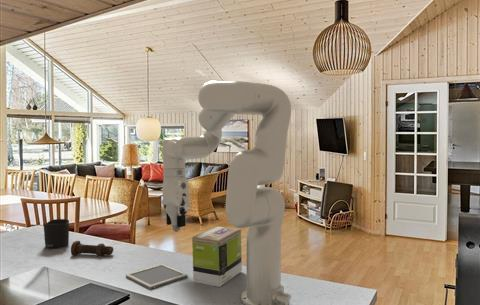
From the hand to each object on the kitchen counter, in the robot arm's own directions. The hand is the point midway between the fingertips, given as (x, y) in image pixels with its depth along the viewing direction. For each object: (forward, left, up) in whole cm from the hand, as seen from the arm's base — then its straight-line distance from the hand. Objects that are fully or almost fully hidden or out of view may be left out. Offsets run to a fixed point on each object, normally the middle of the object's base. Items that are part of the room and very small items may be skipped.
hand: (176, 224), depth 138 cm
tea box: (-18, -3, -15) cm, 24 cm away
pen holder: (+54, +20, -15) cm, 59 cm away
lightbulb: (0, 0, -3) cm, 3 cm away
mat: (-4, +11, -14) cm, 19 cm away
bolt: (+32, +15, -15) cm, 38 cm away
